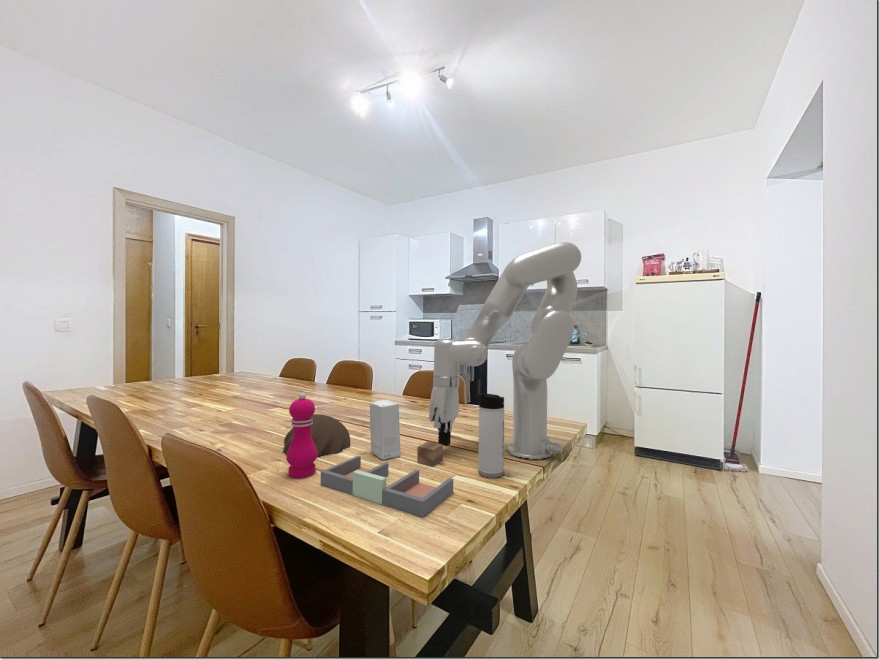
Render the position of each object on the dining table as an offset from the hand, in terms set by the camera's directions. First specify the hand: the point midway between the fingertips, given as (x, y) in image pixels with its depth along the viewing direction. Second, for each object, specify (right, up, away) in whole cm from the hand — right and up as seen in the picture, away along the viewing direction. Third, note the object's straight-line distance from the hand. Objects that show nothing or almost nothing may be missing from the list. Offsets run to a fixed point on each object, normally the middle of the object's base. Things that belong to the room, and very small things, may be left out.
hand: (444, 444), depth 106 cm
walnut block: (-4, -2, -8) cm, 9 cm away
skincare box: (-17, -2, -2) cm, 17 cm away
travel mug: (+11, -3, -15) cm, 19 cm away
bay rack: (-13, -2, -24) cm, 28 cm away
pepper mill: (-35, -2, -16) cm, 39 cm away
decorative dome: (-38, -2, +4) cm, 39 cm away
